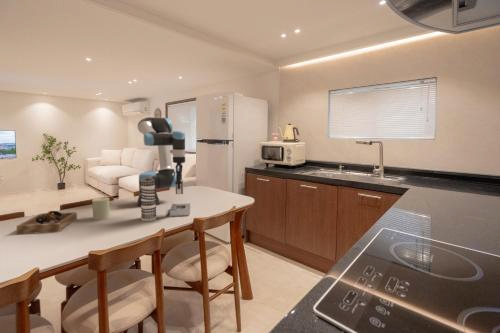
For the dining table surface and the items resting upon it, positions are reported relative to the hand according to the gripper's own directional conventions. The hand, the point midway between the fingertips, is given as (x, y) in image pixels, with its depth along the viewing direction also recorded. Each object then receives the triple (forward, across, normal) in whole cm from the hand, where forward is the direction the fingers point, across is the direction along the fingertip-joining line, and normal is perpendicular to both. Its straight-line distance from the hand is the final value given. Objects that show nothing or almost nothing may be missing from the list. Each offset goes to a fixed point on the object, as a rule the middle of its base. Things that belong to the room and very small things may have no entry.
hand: (179, 192), depth 167 cm
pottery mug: (+15, -10, +70) cm, 72 cm away
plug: (0, 0, 0) cm, 0 cm away
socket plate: (+14, +3, 0) cm, 14 cm away
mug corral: (+14, -12, +68) cm, 71 cm away
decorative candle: (+14, -7, +17) cm, 23 cm away
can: (+14, -2, +46) cm, 48 cm away
